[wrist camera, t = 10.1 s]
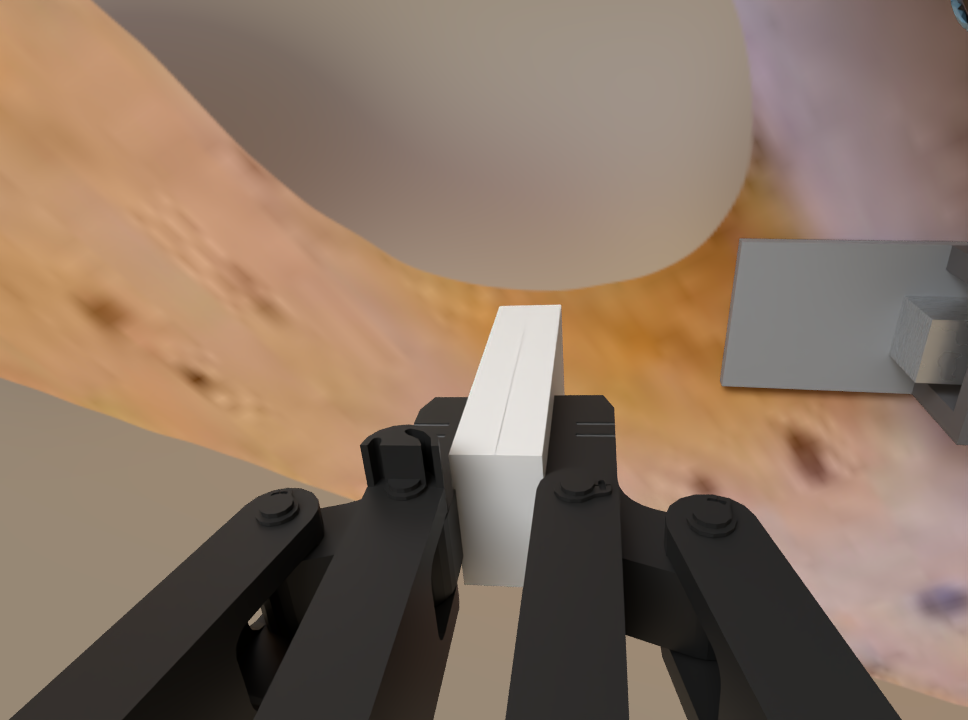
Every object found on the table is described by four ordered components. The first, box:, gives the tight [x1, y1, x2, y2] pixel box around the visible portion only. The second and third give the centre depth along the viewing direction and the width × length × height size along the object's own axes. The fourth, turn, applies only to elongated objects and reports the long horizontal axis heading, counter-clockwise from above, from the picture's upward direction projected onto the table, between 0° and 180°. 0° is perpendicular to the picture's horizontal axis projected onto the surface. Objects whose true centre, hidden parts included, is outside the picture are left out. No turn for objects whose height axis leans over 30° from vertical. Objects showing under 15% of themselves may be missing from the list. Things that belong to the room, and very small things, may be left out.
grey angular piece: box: [720, 239, 968, 445], centre depth 41 cm, size 10×22×7 cm, turn 90°
